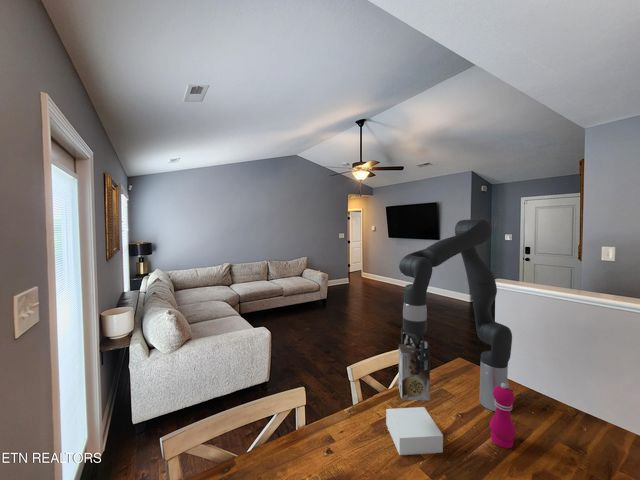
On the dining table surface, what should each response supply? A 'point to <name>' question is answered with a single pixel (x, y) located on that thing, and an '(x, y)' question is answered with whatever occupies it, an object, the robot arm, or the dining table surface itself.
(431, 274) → the robot arm
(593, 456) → the dining table surface
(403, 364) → the coffee box
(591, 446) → the dining table surface
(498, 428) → the pepper mill
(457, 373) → the dining table surface
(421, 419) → the riser block
